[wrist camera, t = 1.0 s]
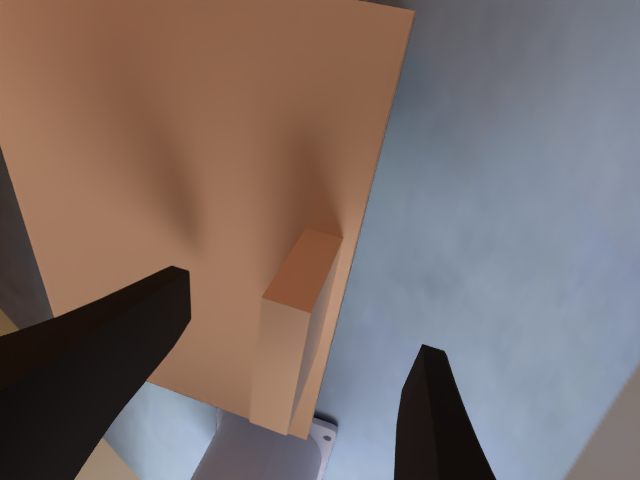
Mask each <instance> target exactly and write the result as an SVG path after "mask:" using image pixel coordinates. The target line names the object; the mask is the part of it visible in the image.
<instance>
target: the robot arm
mask: <svg viewBox="0 0 640 480" xmlns="http://www.w3.org/2000/svg"><path fill="white" fill-rule="evenodd" d="M191 319H192V318H191V295H190V272H189V271H188V270H185V269H182V268H178V267H175V266H169V267H167V268H165V269H162V270H160V271H158V272H156V273H154V274H152V275H150V276H147V277H145V278H143V279H141V280H139V281H137V282H135V283H133V284H131V285H129V286H126V287H124V288H122V289H120V290H118V291H116V292H113V293H111V294H109V295H107V296H105V297H103V298H100V299H98V300H96V301H93V302H91V303H89V304H86V305H84V306H82V307H79V308H77V309H74V310H72V311H70V312H67V313H65V314H63V315H60V316H58V317H55V318H52V319H50V320H47V321H44V322H42V323H39V324H36V325H33V326H30V327H27V328H24V329H22V330H19V331H16V332H13V333H10V334H7V335H3V336H0V480H74V479H75V477H76V476H77V474H78V473H79V471H80V470H81V468H82V466H83V465H84V464H85V462H86V461H87V459H88V457H89V456H90V454H91V453H92V451H93V450H94V448H95V447H96V446H97V444H98V443H99V441H100V439H101V438H102V437H103V435H104V434H105V432H106V431H107V430H108V428H109V427H110V425H111V424H112V422H113V421H114V420H115V418H116V417H117V416H118V414H119V413H120V412H121V411H122V409H123V408H124V407H125V406H126V404H127V403H128V402H129V401H130V400H131V398H132V397H133V396H134V395H135V394H136V392H137V391H138V390H139V389H140V388H141V386H142V385H143V384H144V383H145V381H146V380H147V379H148V378H149V377H150V375H151V374H152V373H153V372H154V371H155V369H156V368H157V367H158V366H159V365H160V363H161V362H162V361H163V360H164V358H165V357H166V356H167V355H168V354H169V352H170V351H171V350H172V349H173V347H174V346H175V344H176V343H177V341H178V340H179V338H180V337H181V335H182V334H183V332H184V330H185V329H186V327H187V325H188V324H189V322H190V321H191ZM337 432H338V429H337V427H336V426H335V425H333V424H331V423H328V422H325V421H323V420H320V419H317V418H314V417H313V420H312V424H311V427H310V431H309V434H308V437H307V440H305V439H302V438H299V437H297V436H294V435H291V434H287V436H286V435H283V434H280V433H278V432H275V431H272V430H270V429H267V428H264V427H261V426H259V425H256V424H253V423H251V422H249V419H248V418H245V417H242V416H239V415H237V414H234V413H231V412H229V411H226V410H223V409H220V408H218V407H217V422H216V434H215V435H214V437H213V439H212V441H211V443H210V445H209V446H208V448H207V450H206V452H205V454H204V456H203V458H202V459H201V461H200V463H199V465H198V467H197V469H196V470H195V472H194V474H193V476H192V478H191V480H322V479H323V476H324V473H325V470H326V467H327V464H328V461H329V458H330V455H331V451H332V448H333V445H334V442H335V439H336V436H337ZM394 480H496V478H495V476H494V474H493V472H492V470H491V468H490V465H489V463H488V461H487V459H486V457H485V455H484V453H483V450H482V448H481V446H480V444H479V441H478V439H477V437H476V434H475V432H474V429H473V427H472V424H471V422H470V420H469V417H468V415H467V412H466V410H465V407H464V404H463V402H462V399H461V396H460V394H459V391H458V388H457V385H456V382H455V379H454V377H453V374H452V370H451V367H450V364H449V361H448V358H447V355H446V353H445V351H443V350H440V349H436V348H433V347H430V346H427V345H424V344H422V346H421V348H420V350H419V353H418V355H417V357H416V359H415V362H414V364H413V366H412V368H411V371H410V373H409V375H408V377H407V380H406V382H405V384H404V386H403V389H402V393H401V399H400V406H399V412H398V419H397V427H396V446H395V468H394Z"/></svg>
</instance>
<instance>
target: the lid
mask: <svg viewBox="0 0 640 480" xmlns="http://www.w3.org/2000/svg"><path fill="white" fill-rule="evenodd" d="M415 15H416V11H414V10H408V9H403V8H397V7H392V6H387V5H381V4H376V3H370V2H365V1H360V0H0V146H1V149H2V152H3V155H4V159H5V162H6V165H7V168H8V171H9V174H10V178H11V181H12V184H13V187H14V190H15V194H16V197H17V200H18V203H19V206H20V210H21V213H22V216H23V219H24V222H25V226H26V229H27V232H28V235H29V238H30V242H31V245H32V248H33V251H34V254H35V258H36V261H37V264H38V267H39V270H40V273H41V277H42V280H43V283H44V286H45V289H46V293H47V296H48V299H49V302H50V305H51V309H52V312H53V315H54V318H55V317H58V316H60V315H63V314H65V313H67V312H70V311H72V310H74V309H77V308H79V307H82V306H84V305H86V304H89V303H91V302H93V301H96V300H98V299H100V298H103V297H105V296H107V295H109V294H111V293H113V292H116V291H118V290H120V289H122V288H124V287H126V286H129V285H131V284H133V283H135V282H137V281H139V280H141V279H143V278H145V277H147V276H150V275H152V274H154V273H156V272H158V271H160V270H162V269H165V268H167V267H169V266H175V267H178V268H182V269H185V270H188V271H189V272H190V295H191V318H192V319H191V321H190V322H189V324H188V325H187V327H186V329H185V330H184V332H183V334H182V335H181V337H180V338H179V340H178V341H177V343H176V344H175V346H174V347H173V349H172V350H171V351H170V352H169V354H168V355H167V356H166V357H165V358H164V360H163V361H162V362H161V363H160V365H159V366H158V367H157V368H156V369H155V371H154V372H153V373H152V374H151V375H150V377H149V378H148V379H147V380H146V381H147V382H150V383H152V384H155V385H158V386H161V387H163V388H166V389H169V390H171V391H174V392H177V393H180V394H182V395H185V396H188V397H190V398H193V399H196V400H199V401H201V402H204V403H207V404H209V405H212V406H215V407H218V408H220V409H223V410H226V411H229V412H231V413H234V414H237V415H239V416H242V417H245V418H248V419H249V422H251V423H253V424H256V425H259V426H261V427H264V428H267V429H270V430H272V431H275V432H278V433H280V434H283V435H286V436H287V434H291V435H294V436H297V437H299V438H302V439H305V440H307V437H308V434H309V431H310V427H311V424H312V420H313V416H314V412H315V408H316V404H317V401H318V397H319V393H320V389H321V385H322V381H323V377H324V373H325V369H326V365H327V361H328V357H329V353H330V349H331V346H332V342H333V338H334V334H335V330H336V326H337V322H338V318H339V314H340V310H341V306H342V302H343V298H344V294H345V290H346V287H347V283H348V279H349V275H350V271H351V267H352V263H353V259H354V255H355V251H356V247H357V243H358V239H359V235H360V231H361V228H362V224H363V220H364V216H365V212H366V208H367V204H368V200H369V196H370V192H371V188H372V184H373V180H374V176H375V173H376V169H377V165H378V161H379V157H380V153H381V149H382V145H383V141H384V137H385V133H386V129H387V125H388V121H389V117H390V114H391V110H392V106H393V102H394V98H395V94H396V90H397V86H398V82H399V78H400V74H401V70H402V66H403V62H404V58H405V55H406V51H407V47H408V43H409V39H410V35H411V31H412V27H413V23H414V19H415Z"/></svg>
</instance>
